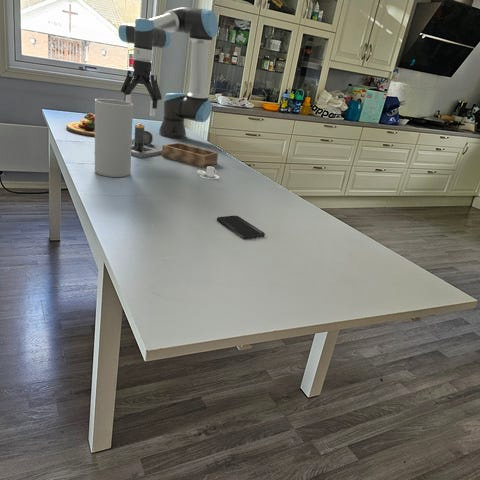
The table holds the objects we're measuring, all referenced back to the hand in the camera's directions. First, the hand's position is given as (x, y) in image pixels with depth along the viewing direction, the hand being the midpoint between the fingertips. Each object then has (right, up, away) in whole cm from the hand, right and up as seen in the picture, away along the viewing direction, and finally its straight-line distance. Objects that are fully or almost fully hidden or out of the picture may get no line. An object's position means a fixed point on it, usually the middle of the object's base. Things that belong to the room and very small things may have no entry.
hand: (140, 113), depth 177 cm
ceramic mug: (-5, -8, +23) cm, 25 cm away
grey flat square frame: (-2, -15, +7) cm, 17 cm away
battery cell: (-2, -15, +7) cm, 17 cm away
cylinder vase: (-3, -31, -28) cm, 42 cm away
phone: (+43, -52, -59) cm, 90 cm away
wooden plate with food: (-30, +1, +37) cm, 48 cm away
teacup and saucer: (+30, -29, -10) cm, 43 cm away
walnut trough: (+21, -19, +8) cm, 29 cm away
